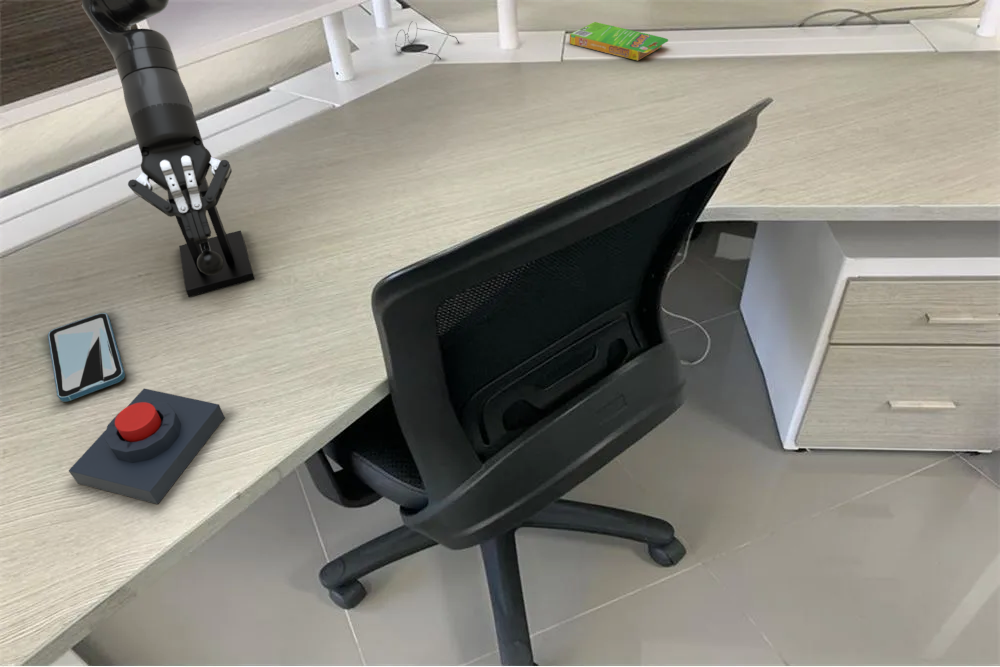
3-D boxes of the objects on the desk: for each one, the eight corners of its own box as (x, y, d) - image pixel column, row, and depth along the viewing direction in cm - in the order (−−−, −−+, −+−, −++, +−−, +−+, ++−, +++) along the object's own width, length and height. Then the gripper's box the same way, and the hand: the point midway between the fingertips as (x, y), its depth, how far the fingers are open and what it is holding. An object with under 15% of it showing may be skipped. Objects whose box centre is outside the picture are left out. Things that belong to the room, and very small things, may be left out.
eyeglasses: (461, 41, 165) (459, 19, 162) (439, 61, 156) (437, 38, 153) (418, 38, 168) (415, 16, 165) (394, 57, 160) (391, 34, 156)
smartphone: (106, 310, 93) (124, 375, 83) (109, 316, 94) (128, 381, 84) (46, 331, 91) (57, 400, 81) (50, 336, 91) (61, 406, 81)
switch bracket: (255, 279, 98) (227, 200, 90) (188, 297, 96) (153, 217, 88) (243, 236, 107) (216, 160, 98) (181, 252, 104) (149, 175, 96)
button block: (158, 504, 71) (142, 480, 68) (77, 483, 73) (59, 459, 70) (225, 417, 79) (213, 393, 76) (151, 401, 82) (137, 377, 79)
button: (145, 445, 72) (138, 434, 71) (113, 438, 73) (105, 427, 72) (169, 417, 75) (163, 406, 74) (138, 410, 76) (131, 399, 74)
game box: (594, 34, 167) (669, 48, 155) (569, 47, 162) (645, 62, 150) (594, 21, 165) (670, 34, 153) (568, 33, 160) (645, 48, 148)
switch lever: (228, 275, 93) (223, 264, 90) (203, 282, 92) (197, 271, 89) (204, 194, 96) (198, 181, 93) (179, 199, 96) (173, 186, 93)
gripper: (97, 112, 85) (140, 248, 84) (210, 91, 88) (251, 221, 88) (115, 136, 92) (154, 261, 92) (218, 115, 96) (256, 235, 95)
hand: (201, 241), depth 90 cm, fingers closed
